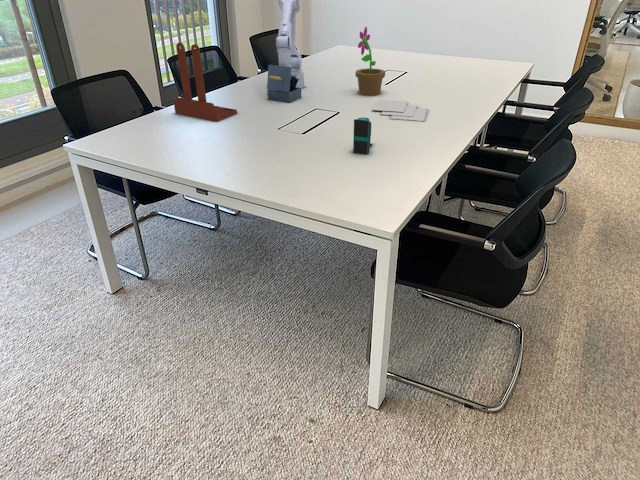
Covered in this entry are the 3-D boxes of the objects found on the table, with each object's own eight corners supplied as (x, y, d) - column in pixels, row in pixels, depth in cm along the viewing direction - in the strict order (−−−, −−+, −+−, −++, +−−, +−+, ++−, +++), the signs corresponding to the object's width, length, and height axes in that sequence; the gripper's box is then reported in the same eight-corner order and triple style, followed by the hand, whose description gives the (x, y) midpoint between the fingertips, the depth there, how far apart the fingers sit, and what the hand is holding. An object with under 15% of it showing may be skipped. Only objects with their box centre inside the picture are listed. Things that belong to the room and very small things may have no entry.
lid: (269, 64, 230) (264, 64, 227) (291, 67, 225) (286, 66, 221) (267, 89, 234) (262, 89, 230) (289, 92, 228) (284, 92, 225)
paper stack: (429, 104, 225) (429, 102, 225) (423, 121, 204) (423, 119, 204) (378, 101, 231) (378, 99, 230) (368, 117, 210) (368, 115, 210)
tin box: (280, 94, 244) (279, 85, 241) (301, 97, 238) (301, 87, 236) (267, 99, 236) (267, 89, 234) (289, 102, 231) (289, 93, 228)
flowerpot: (363, 88, 252) (365, 24, 236) (388, 91, 245) (392, 26, 230) (349, 94, 241) (351, 28, 226) (376, 98, 235) (379, 30, 219)
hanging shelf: (237, 113, 217) (230, 41, 202) (217, 121, 207) (208, 46, 192) (195, 106, 228) (186, 36, 212) (175, 113, 218) (163, 41, 203)
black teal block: (376, 112, 175) (369, 121, 167) (375, 144, 182) (368, 154, 174) (361, 111, 177) (353, 119, 169) (360, 143, 183) (352, 152, 175)
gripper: (267, 63, 230) (269, 92, 237) (293, 66, 224) (294, 96, 231) (275, 60, 235) (277, 89, 242) (301, 63, 229) (302, 92, 236)
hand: (286, 92), depth 237 cm, fingers open, 7 cm apart
